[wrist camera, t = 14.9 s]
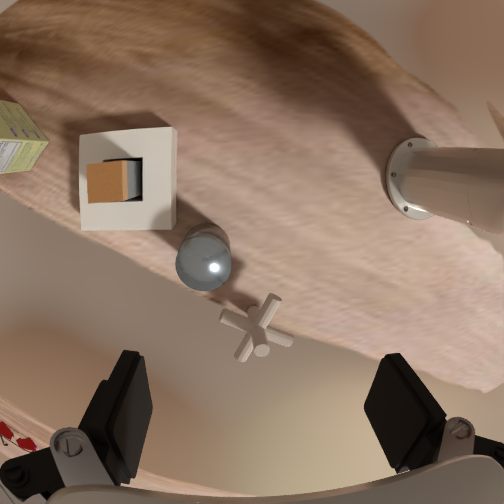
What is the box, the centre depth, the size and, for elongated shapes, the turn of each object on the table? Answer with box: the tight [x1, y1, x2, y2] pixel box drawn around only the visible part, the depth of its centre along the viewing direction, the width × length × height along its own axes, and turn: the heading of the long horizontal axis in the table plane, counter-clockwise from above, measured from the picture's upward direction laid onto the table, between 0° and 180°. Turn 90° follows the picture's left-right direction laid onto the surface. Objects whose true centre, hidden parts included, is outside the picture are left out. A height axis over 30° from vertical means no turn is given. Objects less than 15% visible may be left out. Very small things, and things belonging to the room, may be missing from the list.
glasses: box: [0, 422, 37, 453], centre depth 47 cm, size 14×16×5 cm
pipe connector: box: [219, 293, 294, 362], centre depth 37 cm, size 10×10×10 cm
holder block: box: [79, 127, 177, 231], centre depth 34 cm, size 12×12×4 cm
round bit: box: [176, 223, 231, 291], centre depth 35 cm, size 6×6×8 cm
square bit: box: [86, 161, 143, 204], centre depth 31 cm, size 4×4×10 cm
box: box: [0, 100, 49, 174], centre depth 26 cm, size 10×6×12 cm, turn 42°
